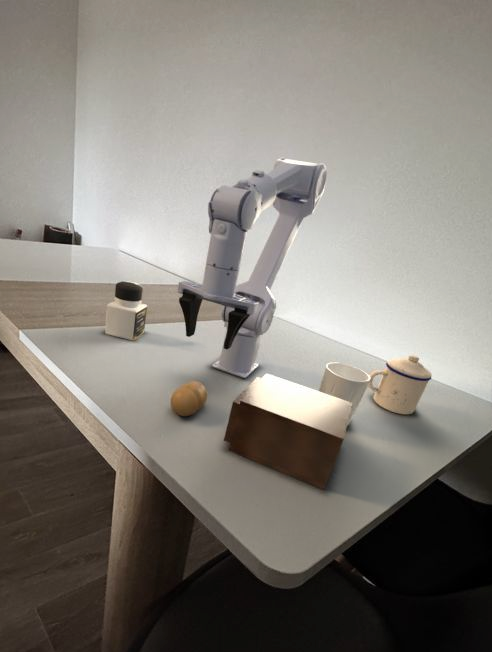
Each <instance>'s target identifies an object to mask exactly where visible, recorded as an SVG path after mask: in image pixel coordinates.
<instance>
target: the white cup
mask: <svg viewBox="0 0 492 652" xmlns="http://www.w3.org/2000/svg"><path fill="white" fill-rule="evenodd" d="M369 375H370V374H368V373H367V372H365V371H364V370H363V369H360V368H359V367H356V366H354V365H350V364H347V363H342V362H329V363H327V364H325V369H324V372H323V376H322V379H321V382H320V386H319V389H318V391H319V392H322V393H325V394H328V395H331V396H334V397H337V398H340V399H342V400H345V401H348V402H351V403H353V406H352V410H351V413H350V417H349V421H348V425H347V427H348V426H349V424H350V422H351V420H352V418H353V417H354V415H355V413H356V411H357V409H358V407H359V405H360V403H361V401H362V399H363V397H364V394H365V392H366V391H367V388H368V387H369V386H368V384H369V382H370V379H371V378H370V376H369Z"/></svg>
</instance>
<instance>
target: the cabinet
mask: <svg viewBox="0 0 492 652" xmlns="http://www.w3.org/2000/svg"><path fill="white" fill-rule="evenodd" d="M260 378H261V379H260V380H259V381H258V383H257V384H256V385H255V386H254V387H253V388H252V389H251V390H250V391H249V392H248V393H247V394H246V395H245V396H244V397H243V399H242V400H241V401H240V405H239V409H238V413H237V417H236V421H235V425H234V429H233V433H232V437H231V441H230V443H229V445H228V449H227V450H228V452H232V453H234V454H237V455H238V456H241V457H243V458H246V459H248V460H251V461H253V462H255V463H258V464H260V465H263V466H264V467H267V468H270V469H272V470H274V471H276V472H280V473H282V474H284V475H286V476H289V477H291V478H293V479H296V480H299V481H301V482H303V483H306V484H307V485H310V486H313V487H315V488H318V489H320V490H322V491H324V490H325V487H326V484H327V482H328V480H329V478H330V475H331V472H332V470H333V468H334V465H335V462H336V460H337V458H338V455H339V453H340V450H341V448H342V445H343V442H344V440H345V436H346V432H347V429H348V426H349V424H348V421H349V417H350V413H351V410H352V406H353V403H351V402H348V401H345V400H342V399H340V398H337V397H334V396H331V395H328V394H325V393H322V392H319V390H316V389H314V388H310V387H307V386H305V385H302V384H299V383H295V382H293V381H290V380H287V379H284V378H281V377H278V376H276V375H273V374H270V373H267V372H266V373H265V374H264V375H263V376H262V377H260ZM347 425H348V426H347Z"/></svg>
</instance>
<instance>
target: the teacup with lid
mask: <svg viewBox="0 0 492 652" xmlns="http://www.w3.org/2000/svg"><path fill="white" fill-rule="evenodd" d="M385 365H386V366H385V368H384V370H383V369H376V370H374V371H372V372H370V374H368V375H369V376H370V378H371V379H370V382H369V384H368V386H367V387H368V388H369V389H370V390H371V391H372V392H374V395H373V400H374V402H375V403H376V404H377V405H379V406H380V407H381V408H382V409H385V410H387V411H390V412H392V413H395V414H399V415H411V414H413V413H414V412H415V410H416V408H417V406H418V404H419V402H420V400H421V398H422V396H423V393H424V391H425V389H426V387H427V385H428V383H429V381H431V380H432V376H433V375H432V372H431V371H430V370H429V369H428V368H426V367H425V366H424V365H423V364H422V363H421V362H420V357H419V356H417V355H414V354H410V355H408V357H402V358H390V359H388V360H387V361H386V363H385ZM378 375H381V378H380V380H379V383H378V385H377V387H374V385H373V380H374V378H375V377H376V376H378Z"/></svg>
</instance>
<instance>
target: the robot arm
mask: <svg viewBox="0 0 492 652" xmlns="http://www.w3.org/2000/svg"><path fill="white" fill-rule="evenodd" d="M327 178H328V168H327V166H326V164H325V163H315V162H309V161H302V160H296V159H289V158H286V157H283V156H281V157H280V158H278V159H276V160H275V162H274V165H273V168H272V169H271V170H270V171H269V172H267V173H266V172H265V171H264V170H260V169H255V170H253V171H252V173H251V175H250V176H248V177H247V178H245V179H240V180H238V181H237V183H235V184H234V185H231V186H229V185H221V186H220V187H217V188H216V189H215V190H214V191H213V193H212V194H211V197H210V200H209V201H208V203H207V215H208V219H209V223H208V233H209V234H210V237H209V244H208V251H207V255H206V262H205V267H204V268H205V269H204V272H203V273H204V274H203V278H202V284H199V283H195V282H190V281H185V280H181V281H179V282H178V285H177V291H176V292H177V294H181V296H179V298H178V304H179V305H180V308H181V311H182V314H183V319H184V326H185V336H186V337H188V338H190V337H192V336H194V335H195V332H196V330H197V320H198V316H199V312H200V308H201V306H202V302H203V300H204V301H207V302H211V303H214V304H218V305H220V306H221V309H220V317H221V320H222V322H223V324H224V325H223V327H224V328H226V329H225V334H224V339H223V344H222V348H221V353H220V358H219V360H217V361H216V362H214V363H212V368H214V369H216V370H219V371H223V372H225V373H228V374H231V375H234V376H236V377H239V378H242V379H247V378H248V377H249V376H250V375H251V374H252V373H253V372H254V371H255V370H256V369H257V368H258V367H259V366H260V365H259V363H257V362H256V361H257V356H258V353H259V348H260V346H261V345H260V344H261V336H263V335H264V334H266V333H267V332H268V330H269V329H270V328H271V325H272V323H273V319H274V315H275V312H276V309H277V301H276V298H275V297H274V295H273V294H272V293H271V289H272V287H273V285H274V283H275V280H276V278H277V276H278V274H279V271H280V269H281V267H282V266H283V263H284V261H285V259H286V257H287V255H288V252H289V250H290V249H291V246H292V244H293V243H294V240H295V238H296V236H297V233H298V231H299V229H300V227H301V225H302V223H303V221H304V219H305V218H307V217H309V216H312V215H313V214H314V212H315V210H316V209H317V206H318V205H319V202H320V200H321V198H322V196H323V194H324V191H325V188H326V184H327ZM270 206H272V207H273V208H274V209H275V210H276V211H277V212H278V214H279V215H278V217H277V219H276V221H275V224H274V225H273V227H272V229H271V232H270V233H269V236H268V238H267V240H266V242H265V244H264V247H263V249H262V251H261V254H260V255H259V257H258V259H257V261H256V262H255V263H256V264H255V266H254V267H253V270H252V272H251V274H250V276H249V279H248V280H247V281H245V282H242V283H239V284H237V283H238V277H239V273H240V269H241V263H242V259H243V254H244V250H245V246H246V245H245V243H246V240H247V235H248V231H250V230H252V229H253V228H254V226H255V224H256V222H257V220H258V218H260V215H261V213H262V212H264V211H265V210H266V209H268V208H269V207H270Z"/></svg>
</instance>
